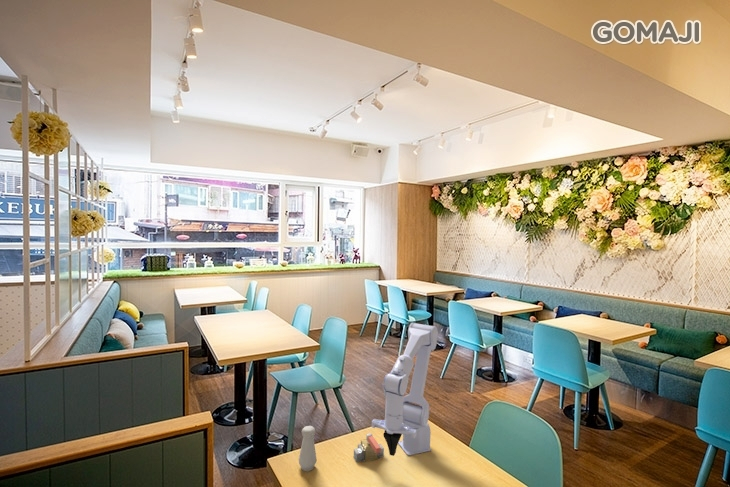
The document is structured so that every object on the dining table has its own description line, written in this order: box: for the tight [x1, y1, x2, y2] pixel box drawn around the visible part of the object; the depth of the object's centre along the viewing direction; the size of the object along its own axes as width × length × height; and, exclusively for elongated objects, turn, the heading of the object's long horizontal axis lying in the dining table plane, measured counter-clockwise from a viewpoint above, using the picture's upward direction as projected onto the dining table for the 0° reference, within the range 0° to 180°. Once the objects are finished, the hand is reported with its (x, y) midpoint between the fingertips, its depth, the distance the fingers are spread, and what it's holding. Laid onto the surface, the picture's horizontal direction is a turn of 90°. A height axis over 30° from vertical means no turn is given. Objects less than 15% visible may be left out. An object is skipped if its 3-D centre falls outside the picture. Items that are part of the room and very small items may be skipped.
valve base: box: [353, 438, 385, 463], centre depth 124 cm, size 10×4×6 cm, turn 111°
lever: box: [365, 432, 381, 453], centre depth 120 cm, size 9×2×2 cm, turn 21°
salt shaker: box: [298, 425, 317, 472], centre depth 117 cm, size 6×6×13 cm
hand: (392, 453), depth 116 cm, fingers closed
